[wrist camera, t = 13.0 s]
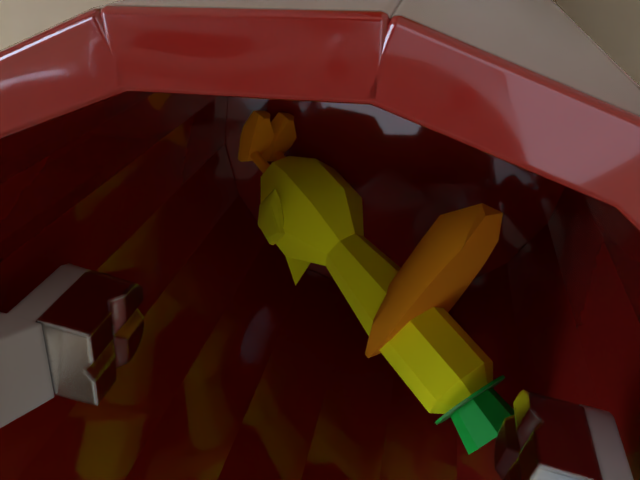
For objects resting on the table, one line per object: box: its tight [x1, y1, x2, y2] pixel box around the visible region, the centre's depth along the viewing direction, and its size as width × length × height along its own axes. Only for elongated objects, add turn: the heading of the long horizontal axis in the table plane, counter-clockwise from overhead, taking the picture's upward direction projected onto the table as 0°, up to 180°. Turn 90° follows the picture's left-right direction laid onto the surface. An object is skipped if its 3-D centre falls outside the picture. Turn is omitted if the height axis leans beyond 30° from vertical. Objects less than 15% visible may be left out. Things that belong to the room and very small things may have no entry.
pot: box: [0, 0, 640, 480], centre depth 13 cm, size 13×14×14 cm
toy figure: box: [238, 111, 514, 454], centre depth 16 cm, size 7×4×12 cm
